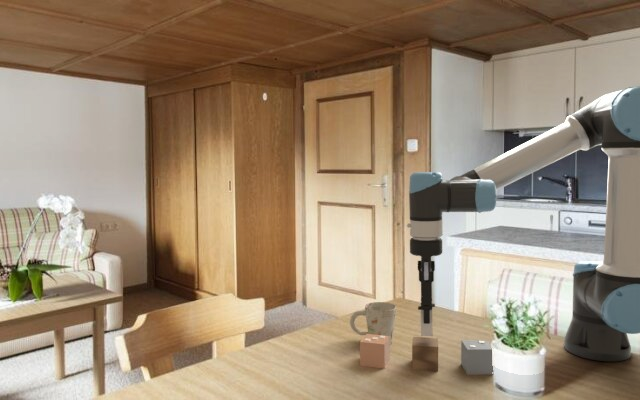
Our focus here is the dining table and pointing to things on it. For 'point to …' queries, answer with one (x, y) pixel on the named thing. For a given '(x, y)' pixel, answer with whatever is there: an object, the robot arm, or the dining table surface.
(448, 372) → the dining table surface
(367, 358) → the terracotta block
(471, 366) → the slate block
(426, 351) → the walnut block
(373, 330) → the mug
